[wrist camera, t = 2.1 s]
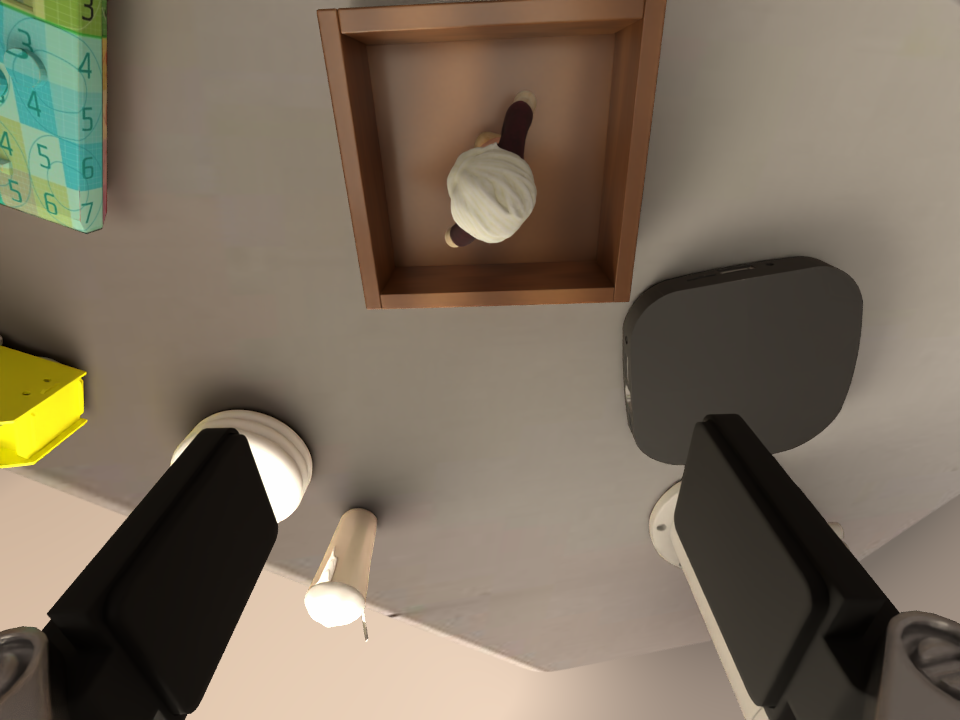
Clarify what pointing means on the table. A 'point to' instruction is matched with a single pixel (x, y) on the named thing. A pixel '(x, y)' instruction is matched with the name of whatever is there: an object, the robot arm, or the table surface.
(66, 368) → the yellow toy chassis
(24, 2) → the puzzle game
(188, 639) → the robot arm
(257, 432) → the white short cylinder
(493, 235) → the grandmother figurine
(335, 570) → the milkshake
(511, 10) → the crate
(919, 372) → the table surface
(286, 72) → the table surface
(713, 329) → the media streaming box
